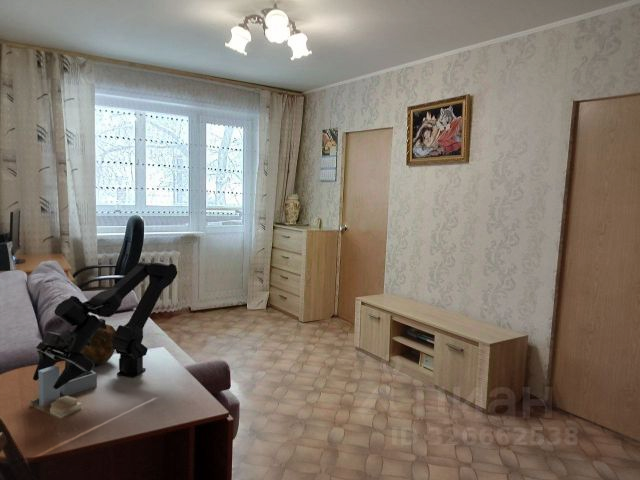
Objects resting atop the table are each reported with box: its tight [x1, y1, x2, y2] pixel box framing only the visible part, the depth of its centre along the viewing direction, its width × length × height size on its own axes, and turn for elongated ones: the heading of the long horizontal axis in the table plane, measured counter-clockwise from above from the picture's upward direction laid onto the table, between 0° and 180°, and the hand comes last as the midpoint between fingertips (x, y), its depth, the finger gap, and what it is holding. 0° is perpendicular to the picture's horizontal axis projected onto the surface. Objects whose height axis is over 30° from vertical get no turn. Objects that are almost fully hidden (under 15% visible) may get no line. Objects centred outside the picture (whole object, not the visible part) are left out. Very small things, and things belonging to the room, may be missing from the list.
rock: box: [81, 323, 117, 365], centre depth 156 cm, size 13×13×15 cm
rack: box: [28, 395, 85, 420], centre depth 126 cm, size 7×14×3 cm, turn 62°
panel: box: [38, 364, 61, 406], centre depth 127 cm, size 4×2×10 cm, turn 152°
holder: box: [60, 369, 98, 397], centre depth 137 cm, size 9×5×5 cm, turn 144°
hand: (44, 384), depth 125 cm, fingers open, 9 cm apart
